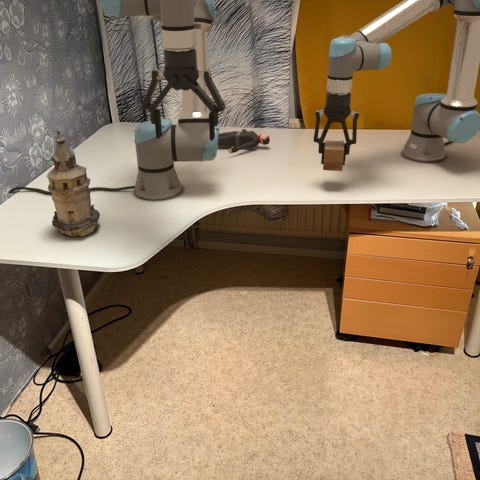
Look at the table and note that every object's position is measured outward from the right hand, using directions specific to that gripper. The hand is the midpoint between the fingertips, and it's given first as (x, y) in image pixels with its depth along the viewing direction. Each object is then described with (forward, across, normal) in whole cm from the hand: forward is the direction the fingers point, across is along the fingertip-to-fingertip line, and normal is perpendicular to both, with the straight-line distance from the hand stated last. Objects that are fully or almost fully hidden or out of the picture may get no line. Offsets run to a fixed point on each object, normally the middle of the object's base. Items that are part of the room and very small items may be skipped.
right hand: (332, 163), depth 175 cm
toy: (+9, +39, -35) cm, 53 cm away
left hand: (-21, +38, +43) cm, 61 cm away
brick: (+1, 0, 0) cm, 1 cm away
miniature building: (+9, +72, +40) cm, 83 cm away
